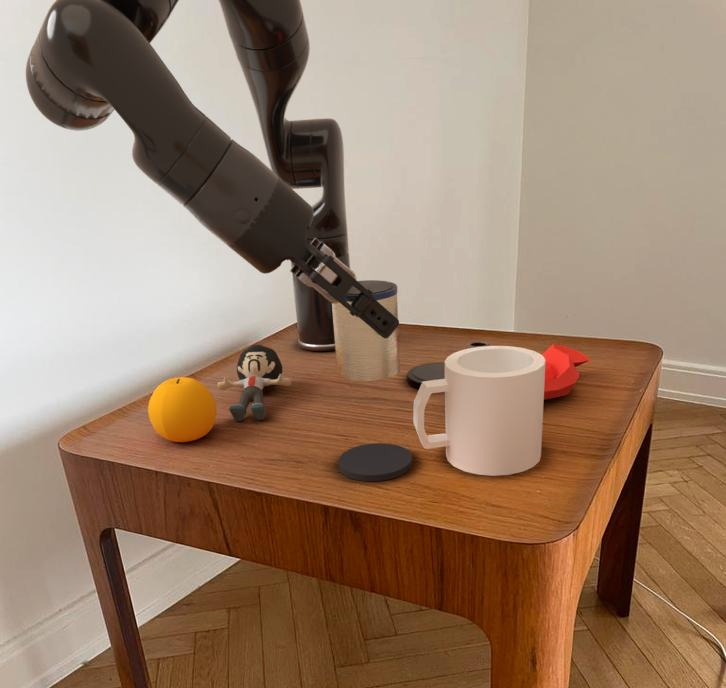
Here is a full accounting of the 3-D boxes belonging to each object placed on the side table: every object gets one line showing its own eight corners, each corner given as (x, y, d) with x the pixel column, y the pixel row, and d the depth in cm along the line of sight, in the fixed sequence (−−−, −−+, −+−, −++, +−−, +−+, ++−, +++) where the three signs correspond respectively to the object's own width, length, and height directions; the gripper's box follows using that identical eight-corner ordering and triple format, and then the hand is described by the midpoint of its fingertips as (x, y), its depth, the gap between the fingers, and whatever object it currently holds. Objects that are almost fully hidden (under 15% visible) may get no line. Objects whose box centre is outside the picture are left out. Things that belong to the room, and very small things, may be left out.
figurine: (206, 409, 93) (222, 336, 103) (217, 446, 98) (231, 373, 108) (285, 404, 92) (292, 332, 102) (292, 442, 97) (299, 369, 107)
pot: (330, 366, 78) (323, 284, 74) (389, 358, 80) (385, 277, 76) (345, 386, 73) (339, 298, 69) (408, 376, 74) (406, 289, 70)
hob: (398, 375, 106) (398, 367, 106) (457, 366, 108) (457, 357, 108) (420, 396, 99) (419, 386, 98) (483, 385, 101) (483, 376, 100)
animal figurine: (601, 377, 100) (604, 340, 98) (558, 415, 90) (561, 375, 87) (521, 365, 107) (522, 331, 104) (472, 400, 96) (472, 362, 94)
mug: (429, 485, 76) (426, 386, 71) (407, 446, 85) (403, 355, 80) (556, 468, 77) (561, 370, 73) (521, 430, 86) (524, 341, 82)
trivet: (331, 456, 84) (330, 450, 83) (398, 444, 85) (398, 438, 85) (349, 487, 77) (349, 480, 76) (423, 473, 78) (422, 466, 78)
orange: (194, 419, 97) (183, 363, 93) (233, 432, 92) (224, 374, 88) (141, 440, 91) (128, 382, 88) (180, 455, 87) (168, 394, 83)
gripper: (290, 179, 59) (431, 307, 67) (261, 168, 72) (384, 278, 80) (233, 254, 61) (378, 372, 69) (214, 231, 73) (339, 333, 81)
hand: (381, 321), depth 74 cm, fingers closed on pot, 6 cm apart
